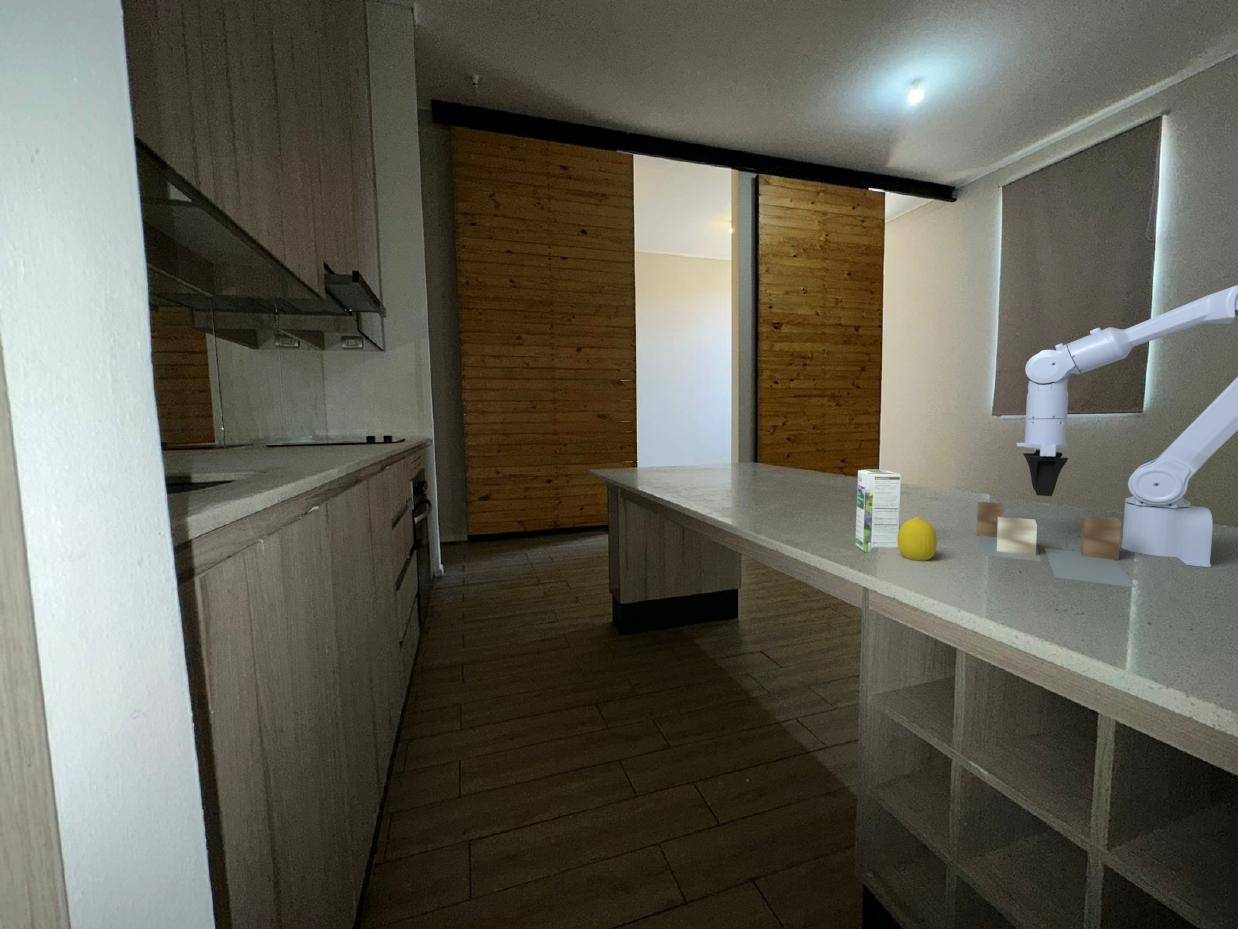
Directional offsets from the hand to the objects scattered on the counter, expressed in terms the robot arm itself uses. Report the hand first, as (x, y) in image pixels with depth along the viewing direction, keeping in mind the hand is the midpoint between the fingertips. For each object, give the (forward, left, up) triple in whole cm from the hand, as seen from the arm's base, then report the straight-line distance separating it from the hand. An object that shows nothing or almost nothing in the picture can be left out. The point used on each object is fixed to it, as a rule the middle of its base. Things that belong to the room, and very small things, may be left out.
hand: (1042, 492), depth 91 cm
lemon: (+17, +27, -10) cm, 33 cm away
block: (+4, +14, -8) cm, 16 cm away
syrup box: (+24, +20, -10) cm, 33 cm away
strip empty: (-4, +19, -9) cm, 21 cm away
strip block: (+5, +11, -9) cm, 15 cm away
